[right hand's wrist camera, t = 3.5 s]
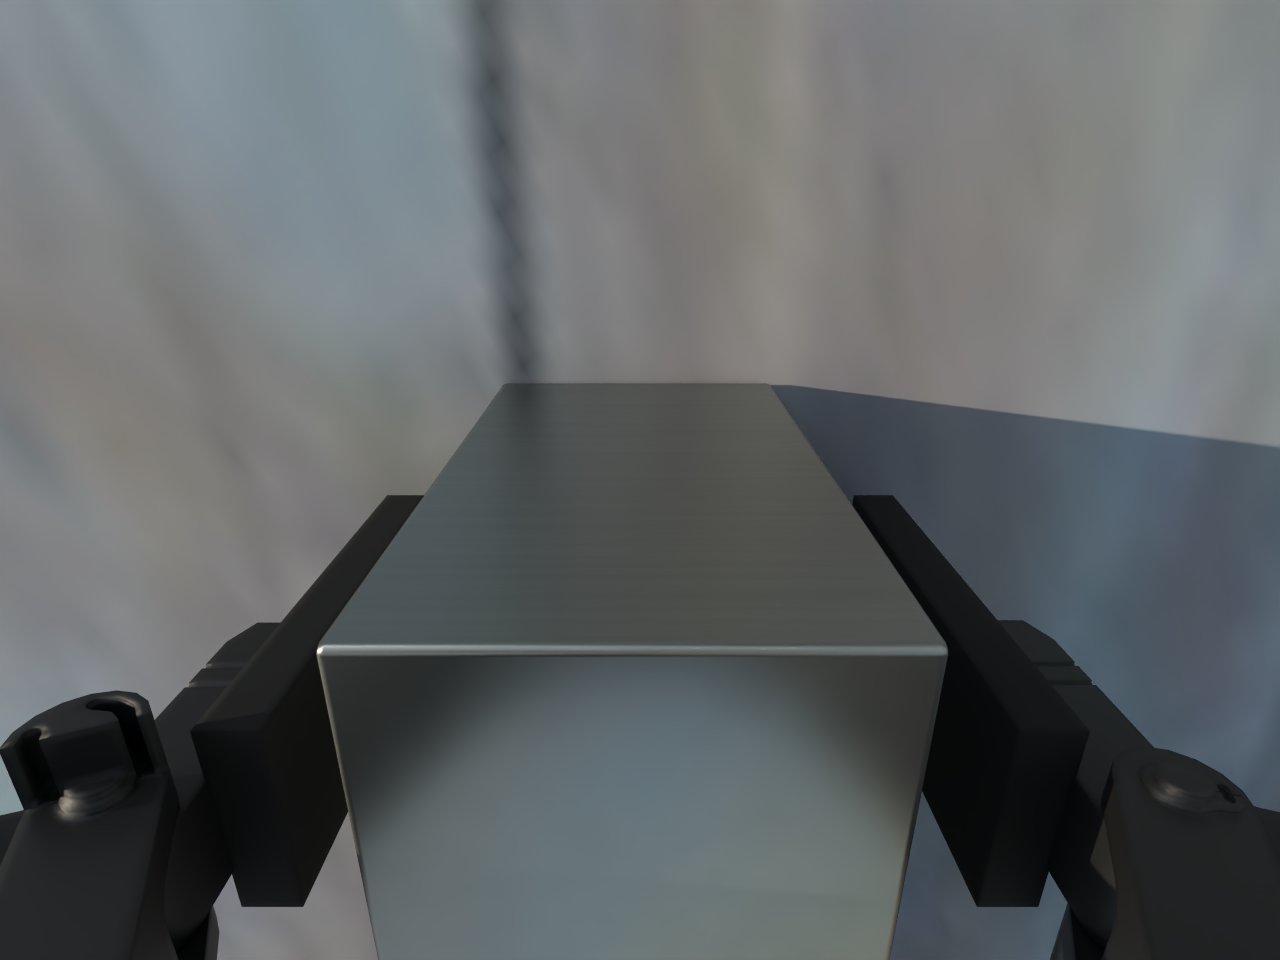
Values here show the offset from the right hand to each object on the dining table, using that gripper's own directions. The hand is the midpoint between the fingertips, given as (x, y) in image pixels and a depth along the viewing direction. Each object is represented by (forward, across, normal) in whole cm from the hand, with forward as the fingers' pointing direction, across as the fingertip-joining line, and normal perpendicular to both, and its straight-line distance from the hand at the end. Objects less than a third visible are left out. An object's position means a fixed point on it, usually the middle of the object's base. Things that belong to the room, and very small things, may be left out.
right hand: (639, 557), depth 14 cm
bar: (+1, 0, -8) cm, 8 cm away
